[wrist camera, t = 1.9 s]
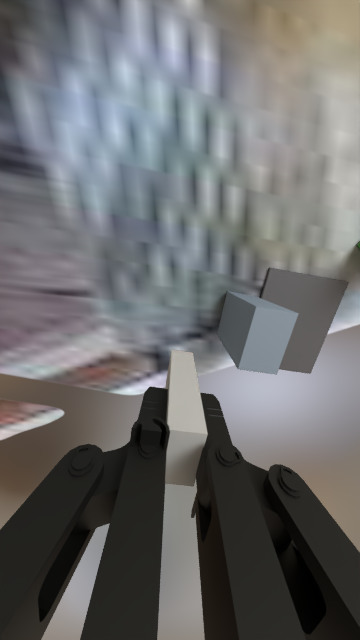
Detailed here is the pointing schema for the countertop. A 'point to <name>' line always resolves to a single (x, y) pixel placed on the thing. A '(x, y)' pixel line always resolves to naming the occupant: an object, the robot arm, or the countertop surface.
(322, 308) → the mat
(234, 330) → the block
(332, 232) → the countertop surface
